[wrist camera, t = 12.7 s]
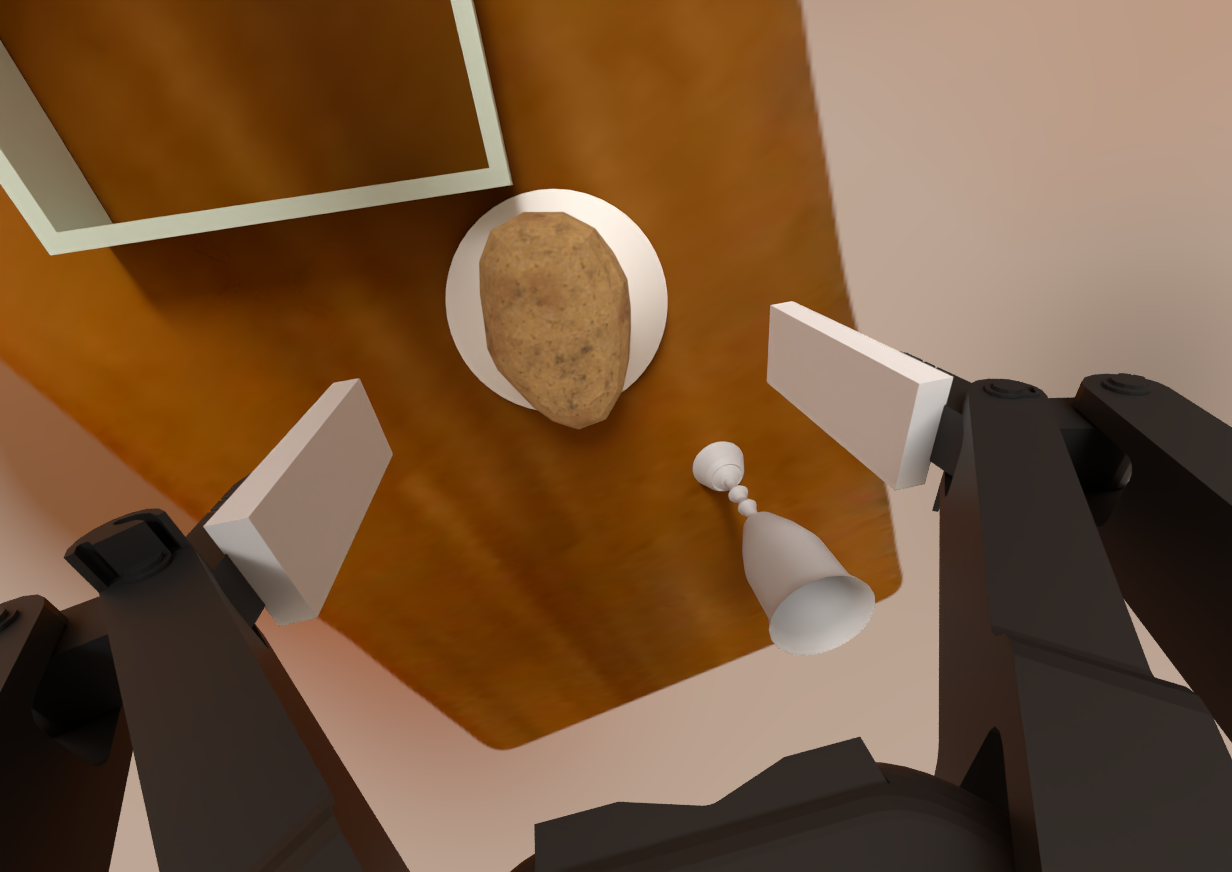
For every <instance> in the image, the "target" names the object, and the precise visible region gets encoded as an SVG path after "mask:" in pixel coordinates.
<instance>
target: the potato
mask: <svg viewBox="0 0 1232 872" xmlns="http://www.w3.org/2000/svg"><path fill="white" fill-rule="evenodd" d="M479 279H480V298H481V305H482V312H483V319H484V326H485V335H486V343H487V349H488V351H489V353H490V356H491V358H492V360H493V362H494V364H495V366H496V368H497V370H498V371H499V372H500V373H501V374H502V375H503V376H504V377H505V379H506V380H507V381H508V382H509V383H510V384H511V385H512V386H513V387H514V388H515V389H516V390H517V391H518V392H519V393H520V394H521V395H522V396H523V397H524V398H525V399H526V400H527V401H528V402H529V404H530V405H531V406H532V407H533V408H535V409H536V410H538V411H539V412H540V413H542V414H543V415H544V416H546V417H547V418H549V419H550V420H551V421H553V422H556V423H559V424H562V425H565V426H569V427H572V428H575V429H578V430H579V429H582V428H584V427H587V426H590V425H592V424H595V423H598V422H601V421H603V420H606V418H607V417H608V415H609V413H610V412H611V410H612V408H613V406H614V405H615V403H616V401H617V400H618V398H619V396H620V394H621V393H622V391H623V387H624V382H625V377H626V372H627V368H628V363H629V354H630V336H631V305H630V297H629V288H628V279H627V277H626V275H625V273H624V271H623V269H622V267H621V265H620V263H619V261H618V259H617V258H616V256H615V254H614V252H613V251H612V249H611V248H610V247H609V246H608V244H607V243H606V242H605V240H604V239H603V238H602V236H601V235H600V234H599V232H598V231H597V230H596V229H595V228H594V227H592V226H590V225H588V224H586V223H584V222H582V221H580V220H579V219H577V218H575V217H573V216H571V215H569V214H567V213H565V212H523V213H521V214H519V215H517V216H515V217H514V218H512V219H510V220H508V221H506V222H505V223H503V224H501V225H499V226H497V227H496V228H494V229H492V230H491V231H490V234H489V236H488V239H487V242H486V245H485V247H484V250H483V253H482V255H481V258H480V261H479Z"/></svg>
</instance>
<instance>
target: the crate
mask: <svg viewBox="0 0 1232 872" xmlns="http://www.w3.org/2000/svg"><path fill="white" fill-rule="evenodd" d="M451 4H452V9H453V13H454V17H455V22H456V26H457V30H458V34H459V39H460V43H461V47H462V52H463V56H464V60H465V65H466V69H467V73H468V77H469V82H470V86H471V90H472V95H473V99H474V103H475V108H476V112H477V116H478V121H479V125H480V129H481V133H482V138H483V142H484V146H485V151H486V155H487V159H488V164H489V168H486V169H479V170H473V171H466V172H459V173H452V174H446V175H439V176H432V177H426V178H419V179H412V180H405V181H399V182H392V183H385V184H379V185H372V186H365V187H358V188H352V189H345V190H338V191H332V192H325V193H318V194H311V195H305V196H298V197H291V198H285V199H278V200H271V201H264V202H258V203H251V204H244V205H238V206H231V207H224V208H217V209H211V210H204V211H197V212H191V213H184V214H177V215H170V216H164V217H157V218H150V219H144V220H137V221H130V222H123V223H117V224H113V223H112V221H111V220H110V218H109V216H108V215H107V213H106V211H105V210H104V208H103V206H102V205H101V203H100V202H99V200H98V198H97V197H96V195H95V193H94V192H93V190H92V189H91V187H90V185H89V184H88V182H87V180H86V179H85V177H84V176H83V174H82V172H81V171H80V169H79V167H78V166H77V164H76V163H75V161H74V159H73V158H72V156H71V154H70V153H69V151H68V149H67V148H66V146H65V145H64V143H63V141H62V140H61V138H60V136H59V135H58V133H57V132H56V130H55V128H54V127H53V125H52V123H51V122H50V120H49V119H48V117H47V115H46V114H45V112H44V110H43V109H42V107H41V106H40V104H39V102H38V101H37V99H36V97H35V96H34V94H33V92H32V91H31V89H30V88H29V86H28V84H27V83H26V81H25V79H24V78H23V76H22V75H21V73H20V71H19V70H18V68H17V66H16V65H15V63H14V62H13V60H12V58H11V57H10V55H9V53H8V52H7V50H6V49H5V47H4V45H3V44H2V42H1V40H0V184H1V185H2V187H3V188H4V190H5V191H6V193H7V194H8V195H9V197H10V198H11V200H12V201H13V203H14V204H15V205H16V207H17V208H18V210H19V211H20V213H21V214H22V216H23V217H24V218H25V220H26V221H27V223H28V224H29V226H30V227H31V228H32V230H33V231H34V233H35V234H36V236H37V237H38V238H39V240H40V241H41V243H42V244H43V246H44V247H45V249H46V250H47V251H48V253H49V254H50V255H56V254H63V253H69V252H76V251H83V250H89V249H96V248H103V247H109V246H116V245H122V244H129V243H136V242H142V241H149V240H155V239H162V238H168V237H175V236H181V235H188V234H195V233H201V232H208V231H214V230H221V229H227V228H234V227H240V226H247V225H254V224H260V223H267V222H273V221H280V220H286V219H293V218H299V217H306V216H313V215H319V214H326V213H332V212H339V211H345V210H352V209H358V208H365V207H372V206H378V205H385V204H391V203H398V202H404V201H411V200H417V199H424V198H431V197H437V196H444V195H450V194H457V193H463V192H470V191H476V190H483V189H490V188H496V187H503V186H509V185H513V183H512V178H511V173H510V169H509V164H508V159H507V155H506V150H505V145H504V141H503V136H502V131H501V127H500V122H499V117H498V113H497V108H496V103H495V99H494V94H493V89H492V85H491V80H490V75H489V70H488V66H487V61H486V56H485V52H484V47H483V42H482V38H481V33H480V28H479V24H478V19H477V14H476V10H475V5H474V0H451Z"/></svg>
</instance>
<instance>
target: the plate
mask: <svg viewBox="0 0 1232 872" xmlns="http://www.w3.org/2000/svg"><path fill="white" fill-rule="evenodd" d="M523 212H565V213H567V214H569V215H571V216H573V217H575V218H577V219H579V220H580V221H582V222H584V223H586V224H588V225H590V226H592V227H594V228H595V229H596V230H597V231H598V232H599V234H600V235H601V236H602V238H603V239H604V240H605V242H606V243H607V244H608V246H609V247H610V248H611V249H612V251H613V252H614V254H615V256H616V258H617V259H618V261H619V263H620V265H621V267H622V269H623V271H624V273H625V275H626V277H627V279H628V288H629V297H630V305H631V336H630V354H629V363H628V368H627V372H626V377H625V382H624V387H623V391H624V390H626V389H627V388H628V387H629V386H630V385H631V384H633V383H634V382H635V381H636V380H637V379H638V378H639V376H640V375H641V374H642V373H643V372H644V371H645V369H646V368H647V366H648V365H649V363H650V362H651V361H652V359H653V357H654V355H655V353H656V351H657V349H658V347H659V344H660V342H661V339H662V336H663V332H664V328H665V324H666V317H667V289H666V282H665V277H664V274H663V270H662V266H661V264H660V261H659V259H658V257H657V254H656V252H655V250H654V249H653V247H652V245H651V243H650V242H649V240H648V239H647V237H646V236H645V235H644V233H643V232H642V231H641V229H640V228H639V227H638V226H637V225H636V224H635V223H634V222H633V221H632V220H631V219H630V218H629V217H628V216H627V215H625V214H624V213H623V212H621V211H620V210H619V209H617V208H616V207H614V206H613V205H611V204H609V203H607V202H605V201H603V200H602V199H599V198H597V197H594V196H591V195H589V194H586V193H581V192H577V191H572V190H564V189H543V190H535V191H531V192H526V193H522V194H519V195H517V196H514V197H512V198H509V199H507V200H505V201H503V202H502V203H500V204H498V205H497V206H495V207H493V208H492V209H491V210H489V211H488V212H487V213H486V214H484V215H483V216H482V217H481V218H480V219H479V220H478V221H477V222H476V223H475V224H474V225H473V226H472V227H471V228H470V229H469V231H468V232H467V234H466V235H465V237H464V238H463V240H462V241H461V243H460V244H459V247H458V249H457V251H456V253H455V255H454V257H453V260H452V263H451V266H450V269H449V272H448V278H447V284H446V312H447V319H448V324H449V328H450V332H451V335H452V337H453V340H454V342H455V345H456V347H457V349H458V351H459V353H460V355H461V356H462V358H463V360H464V361H465V363H466V364H467V365H468V367H469V368H470V370H471V371H472V372H473V373H474V374H475V375H476V376H477V377H478V378H479V379H480V381H481V382H483V383H484V384H485V385H486V386H487V387H489V388H490V389H491V390H492V391H494V392H495V393H497V394H498V395H500V396H501V397H503V398H505V399H507V400H509V401H511V402H513V403H515V404H518V405H521V406H523V407H526V408H530V409H534V410H536V409H535V408H533V407H532V406H531V405H530V404H529V402H528V401H527V400H526V399H525V398H524V397H523V396H522V395H521V394H520V393H519V392H518V391H517V390H516V389H515V388H514V387H513V386H512V385H511V384H510V383H509V382H508V381H507V380H506V379H505V377H504V376H503V375H502V374H501V373H500V372H499V371H498V370H497V368H496V366H495V364H494V362H493V360H492V358H491V356H490V353H489V351H488V349H487V343H486V335H485V326H484V319H483V312H482V305H481V298H480V279H479V261H480V258H481V255H482V253H483V250H484V247H485V245H486V242H487V239H488V236H489V234H490V231H491V230H492V229H494V228H496V227H497V226H499V225H501V224H503V223H505V222H506V221H508V220H510V219H512V218H514V217H515V216H517V215H519V214H521V213H523ZM623 391H622V392H623Z"/></svg>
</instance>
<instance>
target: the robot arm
mask: <svg viewBox="0 0 1232 872" xmlns="http://www.w3.org/2000/svg"><path fill="white" fill-rule="evenodd" d="M767 383H769V384H770V385H771V386H772V387H773V388H775V389H776V390H777V391H778V392H779V393H780V394H782V395H783V396H784V397H785V398H786V399H788V400H789V401H790V402H791V403H792V404H793V405H795V406H796V407H797V408H798V409H799V410H800V411H802V412H803V413H804V414H805V415H806V416H808V417H809V418H810V419H811V420H812V421H813V422H815V423H816V424H817V425H818V426H819V427H820V428H822V429H823V430H824V431H825V432H826V433H828V434H829V435H830V436H831V437H832V438H833V439H835V440H836V441H837V442H838V443H839V444H841V445H842V446H843V447H844V448H845V449H846V450H848V451H849V452H850V453H851V454H852V455H853V456H855V457H856V458H857V459H858V460H859V461H861V462H862V463H863V464H864V465H865V466H866V467H868V468H869V469H870V470H871V471H872V472H873V473H875V474H876V475H877V476H878V477H879V478H881V479H882V480H883V481H884V482H885V483H886V484H888V485H889V486H890V487H891V488H893V489H894V490H900V489H904V488H909V487H913V486H918V485H922V484H925V481H926V477H927V474H928V470H929V466H930V462H932V463H934V464H935V465H937V466H938V467H940V468H941V469H942V470H944V472H943V476H942V479H941V483H940V486H939V489H938V493H937V496H936V500H935V503H934V507H933V511H937V512H938V511H939V509H940V559H939V560H940V562H939V564H940V568H939V569H940V570H939V572H940V573H939V574H940V575H939V578H940V579H939V581H940V582H939V585H940V586H939V590H940V591H939V750H938V759H937V765H936V770H935V775H934V776H933V775H931V774H928V773H925V772H922V771H918V770H915V769H912V768H908V767H905V766H898V765H893V764H888V763H881V762H875V761H874V759H873V758H872V756H871V754H870V752H869V751H868V749H867V747H866V746H865V744H864V742H863V741H862V739H861V737H857V738H853V739H850V740H846V741H842V742H839V743H835V744H831V745H828V746H824V747H820V748H817V749H813V750H809V751H805V752H801V753H798V754H794V755H790V756H787V757H784V758H782V759H781V760H779V761H778V762H776V763H775V764H774V765H772V766H770V767H769V768H767V769H766V770H764V771H763V772H761V773H760V774H758V775H757V776H755V777H754V778H752V779H751V780H749V781H748V782H746V783H745V784H743V785H742V786H740V787H739V788H737V789H736V790H734V791H733V792H732V793H730V794H728V795H727V796H725V797H724V798H722V799H721V800H719V801H718V802H716V803H714V804H711V805H707V806H694V805H673V804H651V803H630V802H616V803H612V804H609V805H605V806H601V807H597V808H594V809H590V810H586V811H583V812H579V813H575V814H571V815H568V816H564V817H560V818H557V819H553V820H549V821H545V822H542V823H538V824H535V854H534V855H532V856H531V857H529V858H527V859H526V860H524V861H523V862H521V863H520V864H519V865H518V866H517V867H515V868H514V869H513V870H512V871H511V872H1232V759H1231V756H1230V754H1229V752H1228V750H1227V748H1226V745H1225V743H1224V741H1223V739H1222V736H1221V734H1220V732H1219V730H1218V728H1217V725H1216V723H1215V721H1216V722H1217V724H1218V725H1219V726H1220V728H1221V729H1222V730H1223V731H1224V733H1225V734H1226V736H1227V737H1228V738H1229V740H1230V741H1231V742H1232V427H1230V426H1229V425H1227V424H1225V423H1224V422H1222V421H1221V420H1219V419H1218V418H1216V417H1215V416H1213V415H1211V414H1210V413H1208V412H1206V411H1205V410H1204V409H1202V408H1200V407H1199V406H1197V405H1196V404H1194V403H1192V402H1191V401H1190V400H1188V399H1186V398H1185V397H1183V396H1182V395H1180V394H1178V393H1177V392H1175V391H1174V390H1172V389H1170V388H1169V387H1167V386H1165V385H1163V384H1160V383H1158V382H1155V381H1152V380H1148V379H1145V377H1142V376H1138V375H1131V374H1124V373H1119V374H1097V375H1091V376H1088V377H1085V378H1084V379H1083V381H1082V382H1081V384H1080V387H1079V389H1078V391H1077V394H1076V396H1075V397H1074V398H1048V397H1047V395H1046V394H1045V393H1044V392H1043V391H1042V390H1041V389H1039V388H1037V387H1035V386H1032V385H1029V384H1026V383H1023V382H1019V381H1014V380H1009V379H984V380H977V381H975V382H973V383H971V382H968V381H966V380H964V379H962V378H960V377H958V376H955V375H953V374H951V373H949V372H947V371H945V370H943V369H940V368H935V366H934V365H932V364H930V363H927V362H923V361H922V360H921V359H919V358H917V357H915V356H912V355H910V354H908V353H905V352H900V351H897V350H895V349H893V348H891V347H889V346H886V345H884V344H882V343H880V342H878V341H875V340H874V339H872V338H870V337H867V336H865V335H863V334H861V333H859V332H857V331H855V330H852V329H850V328H848V327H846V326H844V325H842V324H840V323H838V322H835V321H833V320H831V319H829V318H827V317H825V316H823V315H821V314H818V313H816V312H814V311H812V310H810V309H808V308H806V307H804V306H801V305H799V304H797V303H795V302H793V301H791V302H786V303H780V304H775V305H770V326H769V347H768V369H767ZM392 455H393V453H392V451H391V449H390V446H389V444H388V442H387V440H386V437H385V435H384V433H383V431H382V428H381V426H380V424H379V421H378V419H377V417H376V415H375V412H374V410H373V408H372V406H371V403H370V401H369V399H368V396H367V394H366V392H365V390H364V387H363V385H362V383H361V381H360V378H358V379H352V380H347V381H341V382H335V383H333V384H332V385H331V386H330V387H329V388H328V389H327V390H326V392H325V393H324V394H323V395H322V396H321V397H320V398H319V399H318V400H317V401H316V403H315V404H314V405H313V406H312V407H311V408H310V409H309V410H308V411H307V412H306V414H305V415H304V416H303V417H302V418H301V419H300V420H299V421H298V422H297V424H296V425H295V426H294V427H293V428H292V429H291V430H290V431H289V432H288V433H287V435H286V436H285V437H284V438H283V439H282V440H281V441H280V442H279V443H278V444H277V446H276V447H275V448H274V449H273V450H272V451H271V452H270V453H269V454H268V455H267V457H266V458H265V459H264V460H263V461H262V462H261V463H260V464H259V465H258V467H257V468H256V469H255V470H254V471H253V472H252V473H250V474H249V475H247V476H246V477H244V478H243V479H242V480H240V481H239V482H237V483H236V484H234V485H233V486H232V488H231V489H230V490H229V491H228V492H227V493H226V494H225V495H224V496H223V497H222V498H221V499H222V501H219V502H218V503H217V504H216V505H215V506H214V507H213V508H212V509H211V512H210V513H207V514H206V515H205V517H204V518H203V519H202V520H201V521H200V522H199V523H198V524H197V525H196V526H195V527H194V528H193V530H192V531H191V532H190V533H189V534H188V535H187V536H186V537H185V536H184V535H183V533H182V532H181V531H180V530H179V528H178V527H177V526H176V525H175V523H173V521H172V520H171V519H170V517H169V516H168V515H167V513H166V512H164V511H163V510H161V509H145V510H141V511H137V512H133V513H129V514H127V515H124V516H122V517H119V518H116V519H114V520H111V521H109V522H107V523H105V524H103V525H101V526H99V527H97V528H95V529H93V530H92V531H90V532H89V533H87V534H86V535H84V536H83V537H81V538H80V539H78V540H77V541H76V542H75V543H74V544H73V545H72V546H71V547H70V548H68V549H67V551H66V554H65V556H64V558H65V560H67V562H68V563H69V564H71V566H72V567H73V568H75V569H76V570H77V571H78V572H79V573H80V574H81V575H82V576H83V577H84V578H85V579H86V580H87V581H88V582H89V583H90V584H91V585H92V586H93V587H94V588H95V589H96V590H97V591H98V592H99V595H100V596H99V597H97V598H94V599H91V600H89V601H86V602H83V603H81V604H78V605H75V606H73V607H70V608H67V609H65V610H62V611H59V610H58V609H57V608H56V607H55V606H54V605H52V604H51V603H50V602H49V601H48V600H47V599H46V598H45V597H42V596H40V595H30V596H22V597H19V598H17V599H13V600H10V601H7V602H4V603H2V604H0V872H109V867H110V862H111V857H112V852H113V847H114V842H115V837H116V832H117V827H118V821H119V817H120V812H121V807H122V802H123V797H124V792H125V786H126V782H127V777H128V772H129V767H130V761H131V757H132V752H134V756H135V761H136V766H137V770H138V775H139V780H140V784H141V789H142V793H143V798H144V802H145V807H146V811H147V816H148V821H149V826H150V830H151V835H152V839H153V844H154V849H155V853H156V858H157V862H158V867H159V871H160V872H410V871H409V869H408V868H407V866H406V865H405V863H404V861H403V860H402V858H401V856H400V855H399V853H398V852H397V850H396V849H395V847H394V845H393V844H392V842H391V840H390V839H389V837H388V835H387V834H386V832H385V831H384V829H383V827H382V826H381V824H380V823H379V821H378V819H377V818H376V816H375V815H374V813H373V811H372V810H371V808H370V807H369V805H368V803H367V801H366V800H365V798H364V797H363V795H362V793H361V792H360V790H359V788H358V787H357V785H356V784H355V782H354V780H353V779H352V777H351V776H350V774H349V772H348V771H347V769H346V767H345V766H344V764H343V763H342V761H341V760H340V758H339V756H338V754H337V753H336V751H335V750H334V749H333V746H332V745H331V743H330V742H329V740H328V739H327V737H326V735H325V734H324V732H323V730H322V729H321V727H320V725H319V724H318V722H317V721H316V719H315V717H314V716H313V714H312V712H311V711H310V709H309V707H308V706H307V704H306V703H305V701H304V699H303V698H302V696H301V695H300V693H299V691H298V690H297V688H296V687H295V685H294V683H293V682H292V680H291V678H290V677H289V675H288V673H287V672H286V670H285V669H284V667H283V665H282V664H281V662H280V660H279V659H278V658H277V656H276V654H275V652H274V651H273V649H272V648H271V646H270V644H269V643H268V641H267V639H266V638H265V636H264V635H263V633H262V632H261V631H260V630H259V628H258V627H257V626H256V625H255V622H256V621H257V619H258V617H259V616H260V614H261V612H262V611H263V609H264V607H265V608H266V610H267V611H268V612H269V614H270V615H271V616H272V618H273V619H274V620H275V622H276V623H277V624H278V626H282V625H287V624H291V623H296V622H301V621H305V620H309V619H315V618H317V617H318V615H319V613H320V611H321V608H322V606H323V604H324V602H325V600H326V598H327V595H328V593H329V591H330V589H331V587H332V585H333V582H334V580H335V578H336V576H337V574H338V572H339V570H340V567H341V565H342V563H343V561H344V559H345V557H346V554H347V552H348V550H349V548H350V546H351V544H352V541H353V539H354V537H355V535H356V533H357V531H358V528H359V526H360V524H361V522H362V520H363V518H364V516H365V513H366V511H367V509H368V507H369V505H370V503H371V500H372V498H373V496H374V494H375V492H376V490H377V487H378V485H379V483H380V481H381V479H382V477H383V474H384V472H385V470H386V468H387V466H388V464H389V462H390V459H391V457H392ZM1129 479H1130V480H1129ZM1128 481H1129V482H1128ZM1123 598H1124V599H1123ZM1124 600H1125V601H1126V602H1127V604H1128V605H1129V606H1130V608H1131V609H1132V610H1133V612H1134V613H1135V614H1136V616H1137V617H1138V618H1139V620H1140V621H1141V622H1142V624H1143V625H1144V626H1145V628H1146V629H1147V630H1148V632H1149V633H1150V634H1151V636H1152V637H1153V638H1154V640H1155V641H1156V642H1157V644H1158V645H1159V646H1160V648H1161V649H1162V650H1163V652H1164V653H1165V654H1166V656H1167V657H1168V658H1169V660H1170V661H1171V662H1172V664H1173V665H1174V666H1175V668H1176V669H1177V670H1178V671H1179V673H1180V674H1181V676H1182V677H1183V678H1184V680H1185V681H1186V682H1187V684H1188V685H1189V686H1190V688H1191V689H1192V690H1193V692H1192V691H1191V690H1190V689H1188V688H1187V687H1185V686H1182V685H1178V684H1175V683H1171V682H1168V681H1165V680H1161V679H1158V678H1155V677H1154V676H1153V674H1152V672H1151V670H1150V668H1149V665H1148V663H1147V660H1146V658H1145V655H1144V652H1143V649H1142V647H1141V644H1140V641H1139V639H1138V636H1137V633H1136V631H1135V628H1134V625H1133V623H1132V620H1131V617H1130V615H1129V612H1128V610H1127V607H1126V604H1125V602H1124ZM1213 718H1214V719H1213ZM1214 720H1215V721H1214Z"/></svg>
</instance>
